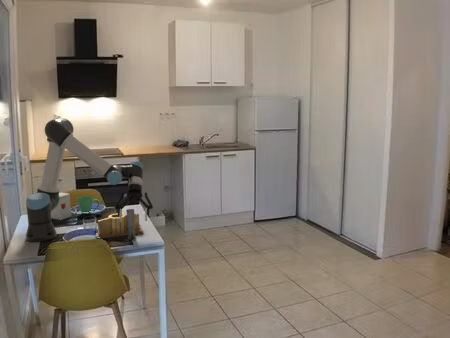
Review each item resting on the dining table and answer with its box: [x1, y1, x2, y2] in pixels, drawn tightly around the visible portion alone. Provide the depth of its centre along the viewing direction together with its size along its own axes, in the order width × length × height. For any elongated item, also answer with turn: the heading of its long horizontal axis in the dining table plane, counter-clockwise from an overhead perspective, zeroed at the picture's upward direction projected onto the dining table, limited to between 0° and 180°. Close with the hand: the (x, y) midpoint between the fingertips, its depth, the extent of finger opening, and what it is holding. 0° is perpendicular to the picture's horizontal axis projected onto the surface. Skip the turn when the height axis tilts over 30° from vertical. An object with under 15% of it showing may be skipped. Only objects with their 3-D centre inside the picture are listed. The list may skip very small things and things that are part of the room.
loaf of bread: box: [95, 212, 144, 239], centre depth 235 cm, size 25×15×10 cm, turn 109°
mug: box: [76, 196, 101, 213], centre depth 271 cm, size 15×10×10 cm
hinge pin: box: [126, 208, 137, 241], centre depth 223 cm, size 4×4×16 cm
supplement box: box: [51, 192, 72, 221], centre depth 263 cm, size 9×9×15 cm
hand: (133, 220), depth 224 cm, fingers open, 13 cm apart
